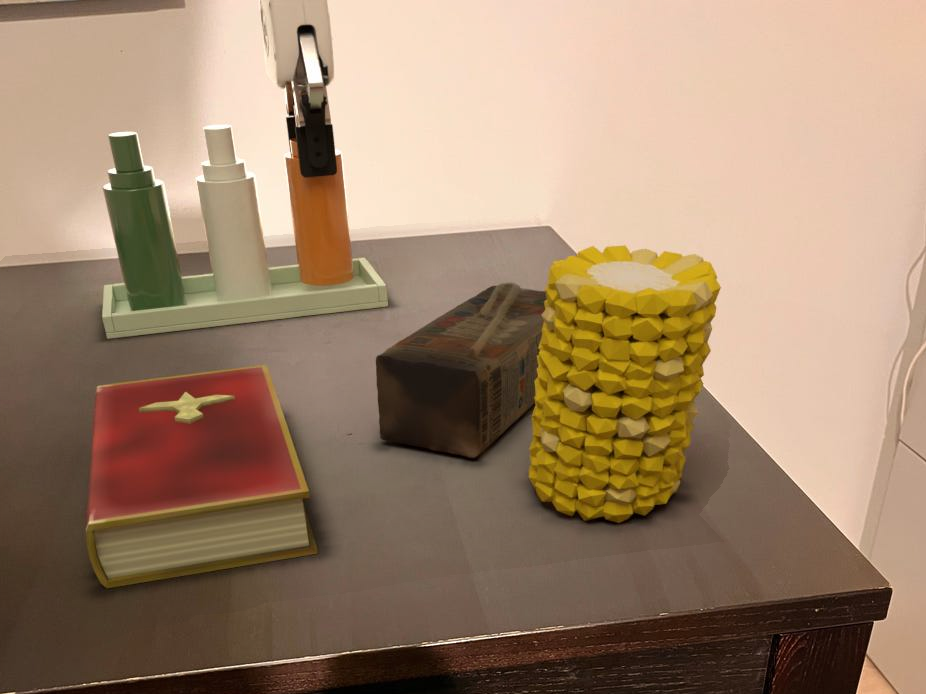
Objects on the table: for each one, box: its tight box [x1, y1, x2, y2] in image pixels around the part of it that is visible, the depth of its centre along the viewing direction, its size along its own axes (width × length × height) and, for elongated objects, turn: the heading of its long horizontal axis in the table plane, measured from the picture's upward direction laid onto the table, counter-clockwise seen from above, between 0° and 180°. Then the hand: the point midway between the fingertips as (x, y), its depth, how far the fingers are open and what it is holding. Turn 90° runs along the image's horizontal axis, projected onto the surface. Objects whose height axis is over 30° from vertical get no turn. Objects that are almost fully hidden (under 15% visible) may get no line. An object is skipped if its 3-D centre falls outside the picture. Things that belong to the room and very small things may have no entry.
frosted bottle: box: [195, 124, 272, 302], centre depth 92 cm, size 5×5×15 cm
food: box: [528, 245, 722, 524], centre depth 58 cm, size 15×12×10 cm
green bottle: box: [102, 131, 187, 311], centre depth 91 cm, size 5×5×15 cm
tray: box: [101, 257, 389, 340], centre depth 96 cm, size 26×11×2 cm, turn 106°
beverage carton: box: [375, 281, 547, 459], centre depth 73 cm, size 8×19×7 cm, turn 155°
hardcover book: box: [85, 364, 319, 589], centre depth 63 cm, size 12×21×4 cm, turn 16°
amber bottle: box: [283, 105, 354, 286], centre depth 93 cm, size 5×5×15 cm
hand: (313, 167), depth 92 cm, fingers closed on amber bottle, 5 cm apart
